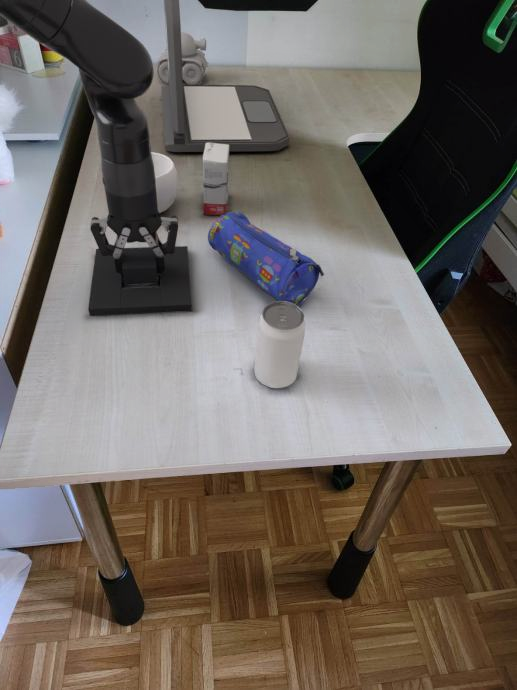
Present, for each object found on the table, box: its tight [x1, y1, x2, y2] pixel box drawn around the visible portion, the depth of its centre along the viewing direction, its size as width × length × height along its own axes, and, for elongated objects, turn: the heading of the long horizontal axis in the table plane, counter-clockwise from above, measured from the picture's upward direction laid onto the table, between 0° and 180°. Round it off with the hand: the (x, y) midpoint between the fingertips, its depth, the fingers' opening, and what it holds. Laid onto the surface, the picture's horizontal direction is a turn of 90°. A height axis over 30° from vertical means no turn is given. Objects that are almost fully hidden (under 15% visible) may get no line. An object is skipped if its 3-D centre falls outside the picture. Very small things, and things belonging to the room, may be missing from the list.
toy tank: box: [156, 31, 209, 85], centre depth 154 cm, size 15×11×13 cm
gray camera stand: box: [160, 0, 291, 153], centre depth 128 cm, size 38×31×32 cm
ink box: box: [202, 143, 230, 216], centre depth 105 cm, size 9×5×12 cm, turn 179°
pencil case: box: [207, 211, 325, 307], centre depth 90 cm, size 22×9×10 cm, turn 41°
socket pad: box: [87, 245, 193, 317], centre depth 90 cm, size 16×16×2 cm
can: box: [253, 300, 307, 389], centre depth 73 cm, size 6×6×12 cm
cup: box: [151, 151, 178, 214], centre depth 104 cm, size 12×12×10 cm
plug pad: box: [122, 247, 159, 286], centre depth 88 cm, size 6×6×4 cm
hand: (141, 271), depth 89 cm, fingers closed on plug pad, 5 cm apart
